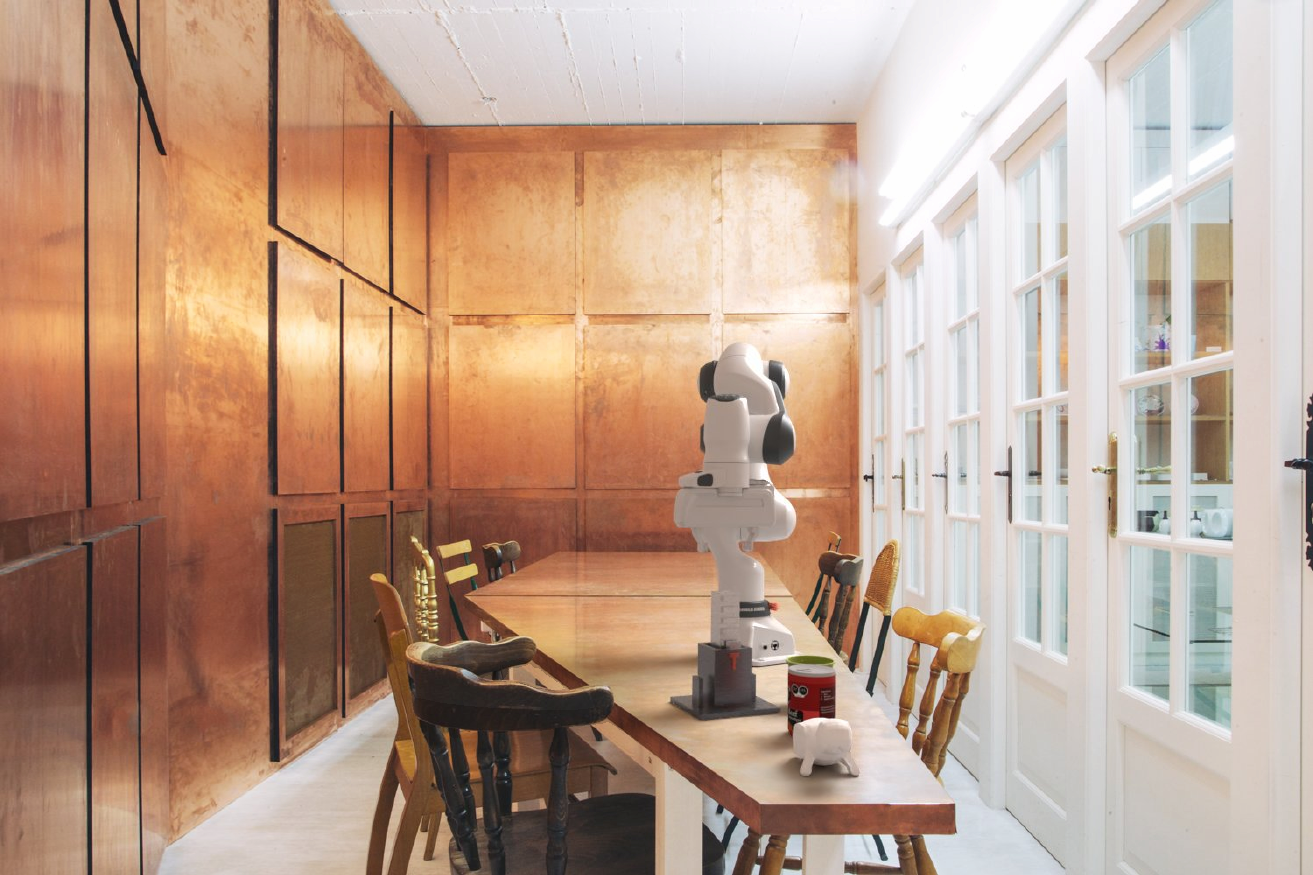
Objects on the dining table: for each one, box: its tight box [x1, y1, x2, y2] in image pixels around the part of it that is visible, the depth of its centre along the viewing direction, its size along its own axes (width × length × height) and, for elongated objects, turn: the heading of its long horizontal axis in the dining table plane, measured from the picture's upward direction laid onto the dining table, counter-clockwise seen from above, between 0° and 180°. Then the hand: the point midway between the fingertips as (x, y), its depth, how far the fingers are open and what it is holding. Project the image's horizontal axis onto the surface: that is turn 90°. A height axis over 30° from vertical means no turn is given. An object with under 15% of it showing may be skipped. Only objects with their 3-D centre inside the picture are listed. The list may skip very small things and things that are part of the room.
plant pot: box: [786, 654, 837, 669], centre depth 169 cm, size 9×9×9 cm
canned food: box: [787, 664, 837, 737], centre depth 150 cm, size 8×8×11 cm
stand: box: [669, 640, 781, 721], centre depth 167 cm, size 16×14×13 cm
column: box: [710, 590, 739, 649], centre depth 167 cm, size 4×5×20 cm
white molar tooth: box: [792, 718, 861, 777], centre depth 131 cm, size 9×8×15 cm
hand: (725, 551), depth 168 cm, fingers open, 8 cm apart
